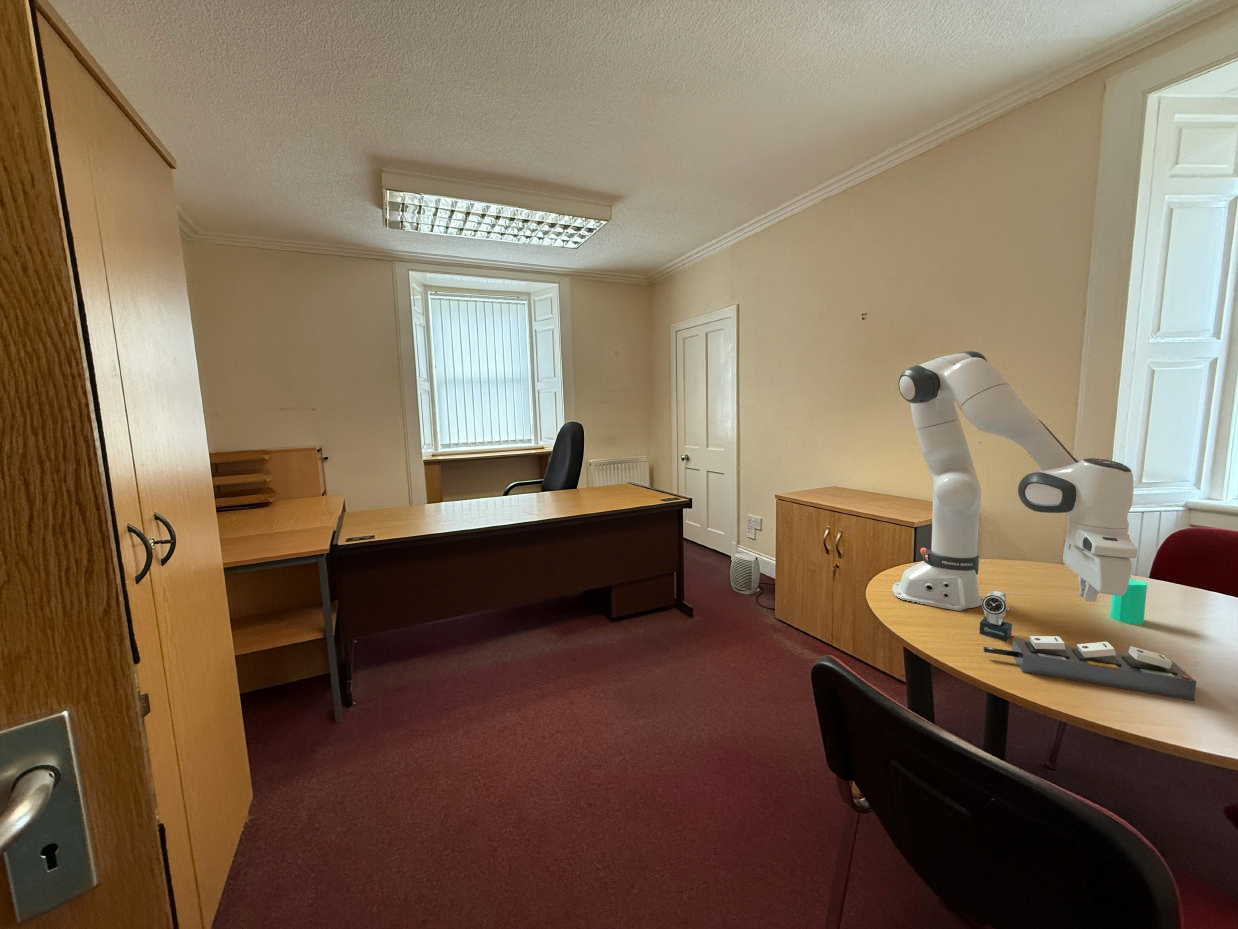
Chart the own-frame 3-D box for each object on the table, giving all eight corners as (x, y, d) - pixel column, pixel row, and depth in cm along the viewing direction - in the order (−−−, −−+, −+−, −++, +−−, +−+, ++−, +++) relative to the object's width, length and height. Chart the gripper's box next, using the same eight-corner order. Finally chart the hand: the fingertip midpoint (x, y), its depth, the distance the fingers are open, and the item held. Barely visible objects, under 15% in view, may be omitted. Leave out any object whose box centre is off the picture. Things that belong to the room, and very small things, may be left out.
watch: (977, 636, 119) (979, 594, 118) (986, 626, 124) (988, 585, 123) (1005, 644, 115) (1007, 600, 114) (1013, 633, 120) (1016, 591, 119)
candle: (1150, 625, 121) (1154, 580, 120) (1122, 624, 122) (1126, 579, 121) (1130, 615, 127) (1134, 571, 125) (1104, 614, 128) (1107, 571, 127)
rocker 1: (1035, 648, 104) (1034, 642, 103) (1030, 642, 106) (1029, 635, 106) (1065, 649, 101) (1064, 642, 101) (1059, 642, 104) (1058, 636, 104)
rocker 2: (1085, 657, 100) (1082, 651, 100) (1078, 650, 103) (1076, 644, 103) (1116, 655, 98) (1114, 648, 98) (1109, 647, 100) (1106, 641, 100)
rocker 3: (1136, 659, 96) (1138, 653, 96) (1128, 652, 99) (1130, 645, 99) (1169, 668, 94) (1172, 662, 94) (1160, 660, 97) (1163, 654, 97)
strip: (987, 666, 106) (988, 648, 105) (979, 649, 113) (980, 632, 112) (1194, 700, 91) (1196, 679, 91) (1170, 679, 98) (1172, 659, 98)
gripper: (1057, 522, 110) (1050, 579, 112) (1097, 548, 92) (1088, 615, 94) (1094, 525, 108) (1085, 584, 110) (1142, 553, 89) (1131, 622, 91)
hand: (1087, 599), depth 102 cm, fingers closed
